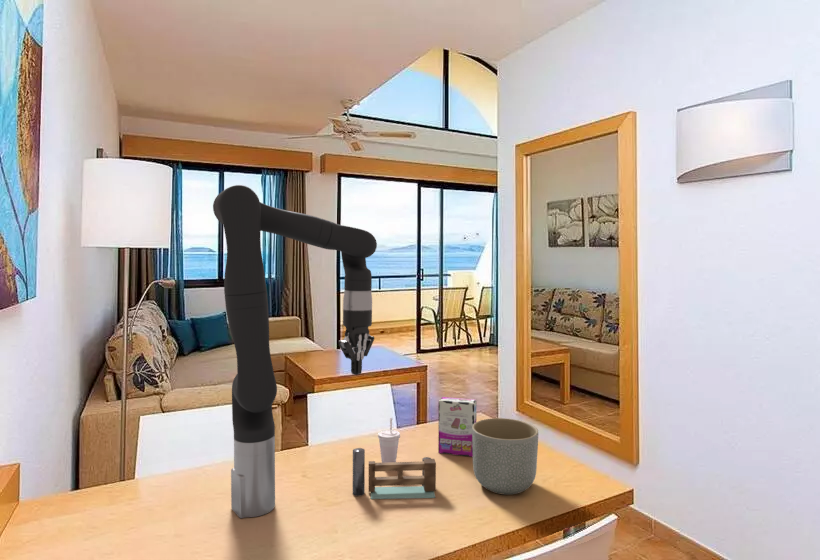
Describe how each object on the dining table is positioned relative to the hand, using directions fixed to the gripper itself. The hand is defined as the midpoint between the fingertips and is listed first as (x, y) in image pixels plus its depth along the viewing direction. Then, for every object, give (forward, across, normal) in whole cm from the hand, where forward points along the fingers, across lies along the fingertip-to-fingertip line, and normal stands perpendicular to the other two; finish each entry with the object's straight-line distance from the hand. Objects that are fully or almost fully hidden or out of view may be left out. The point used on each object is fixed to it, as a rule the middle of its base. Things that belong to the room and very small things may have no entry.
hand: (356, 373), depth 131 cm
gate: (+28, +3, -13) cm, 31 cm away
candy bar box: (+29, +34, -14) cm, 46 cm away
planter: (+29, +20, -34) cm, 49 cm away
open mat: (+29, +2, -14) cm, 32 cm away
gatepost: (+29, -4, -4) cm, 30 cm away
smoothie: (+29, +14, -2) cm, 32 cm away
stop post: (+29, +9, -17) cm, 35 cm away
